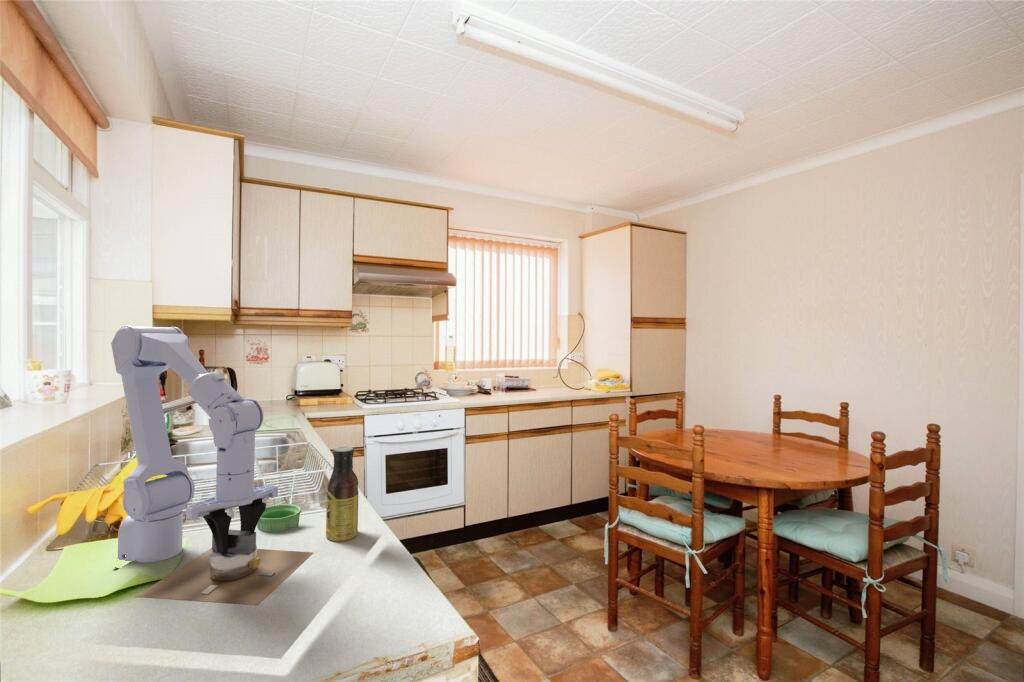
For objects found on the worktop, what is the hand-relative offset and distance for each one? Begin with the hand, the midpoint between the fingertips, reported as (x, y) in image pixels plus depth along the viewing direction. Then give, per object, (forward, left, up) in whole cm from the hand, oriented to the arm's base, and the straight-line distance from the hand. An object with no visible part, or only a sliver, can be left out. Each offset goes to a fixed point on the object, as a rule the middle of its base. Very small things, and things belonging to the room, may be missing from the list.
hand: (234, 548), depth 83 cm
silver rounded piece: (0, 0, -4) cm, 4 cm away
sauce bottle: (+12, +17, -6) cm, 22 cm away
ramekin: (-4, +21, -6) cm, 22 cm away
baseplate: (0, 0, -6) cm, 6 cm away
